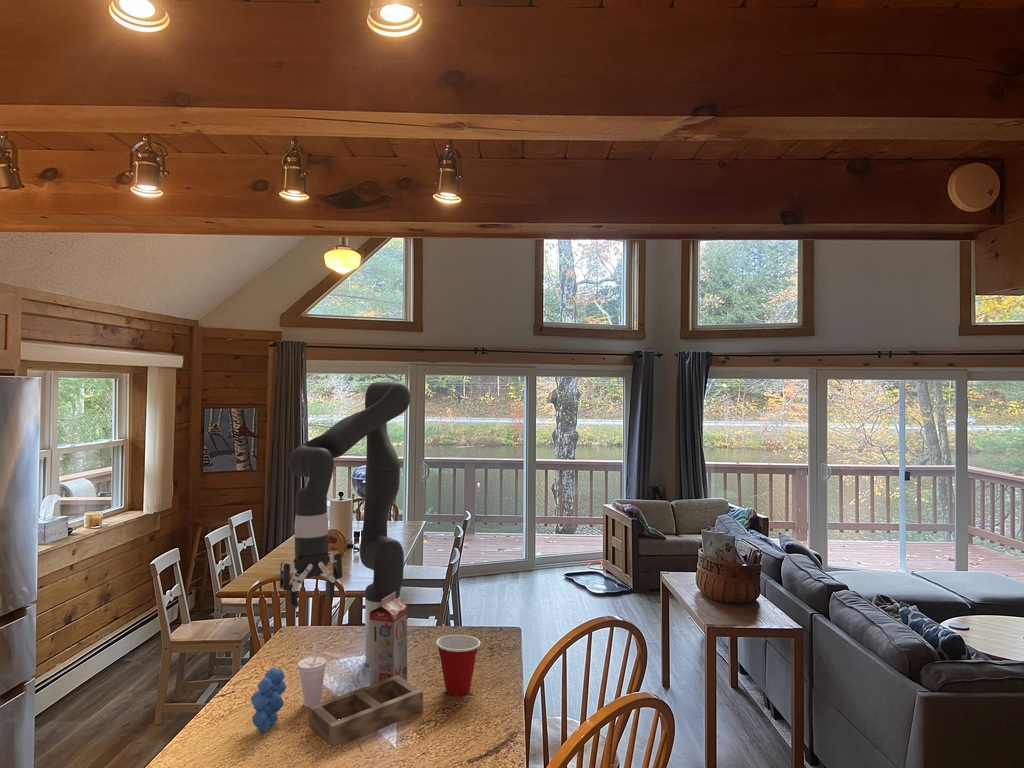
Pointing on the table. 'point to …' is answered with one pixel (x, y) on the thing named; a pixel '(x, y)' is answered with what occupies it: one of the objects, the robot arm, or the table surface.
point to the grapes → (268, 699)
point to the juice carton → (388, 640)
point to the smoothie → (312, 678)
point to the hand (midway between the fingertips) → (311, 602)
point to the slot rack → (365, 710)
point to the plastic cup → (457, 662)
